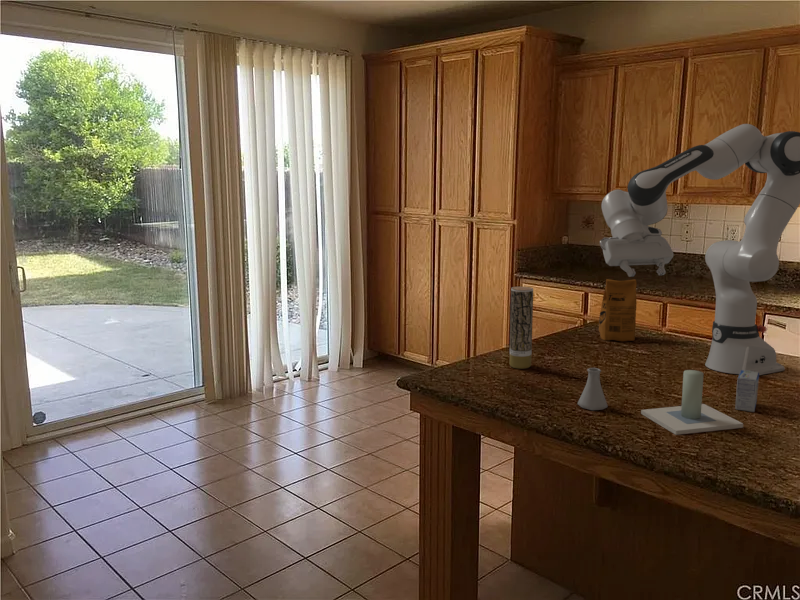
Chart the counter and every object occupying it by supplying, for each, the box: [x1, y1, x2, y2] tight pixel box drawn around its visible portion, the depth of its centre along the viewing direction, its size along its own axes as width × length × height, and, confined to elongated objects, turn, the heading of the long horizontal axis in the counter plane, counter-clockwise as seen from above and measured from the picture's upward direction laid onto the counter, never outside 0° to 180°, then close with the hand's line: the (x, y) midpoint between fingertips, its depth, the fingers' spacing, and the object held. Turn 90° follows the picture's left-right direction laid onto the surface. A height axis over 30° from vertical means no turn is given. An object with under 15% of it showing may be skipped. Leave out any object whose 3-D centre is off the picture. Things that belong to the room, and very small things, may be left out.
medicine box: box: [734, 370, 760, 413], centre depth 167 cm, size 8×4×9 cm, turn 148°
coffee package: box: [598, 278, 638, 342], centre depth 236 cm, size 10×12×22 cm
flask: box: [577, 367, 609, 411], centre depth 168 cm, size 7×7×10 cm
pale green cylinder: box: [681, 369, 704, 419], centre depth 158 cm, size 4×4×11 cm
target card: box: [640, 403, 744, 436], centre depth 159 cm, size 18×14×1 cm
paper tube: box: [509, 286, 534, 370], centre depth 203 cm, size 7×7×25 cm
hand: (647, 274), depth 183 cm, fingers open, 8 cm apart
